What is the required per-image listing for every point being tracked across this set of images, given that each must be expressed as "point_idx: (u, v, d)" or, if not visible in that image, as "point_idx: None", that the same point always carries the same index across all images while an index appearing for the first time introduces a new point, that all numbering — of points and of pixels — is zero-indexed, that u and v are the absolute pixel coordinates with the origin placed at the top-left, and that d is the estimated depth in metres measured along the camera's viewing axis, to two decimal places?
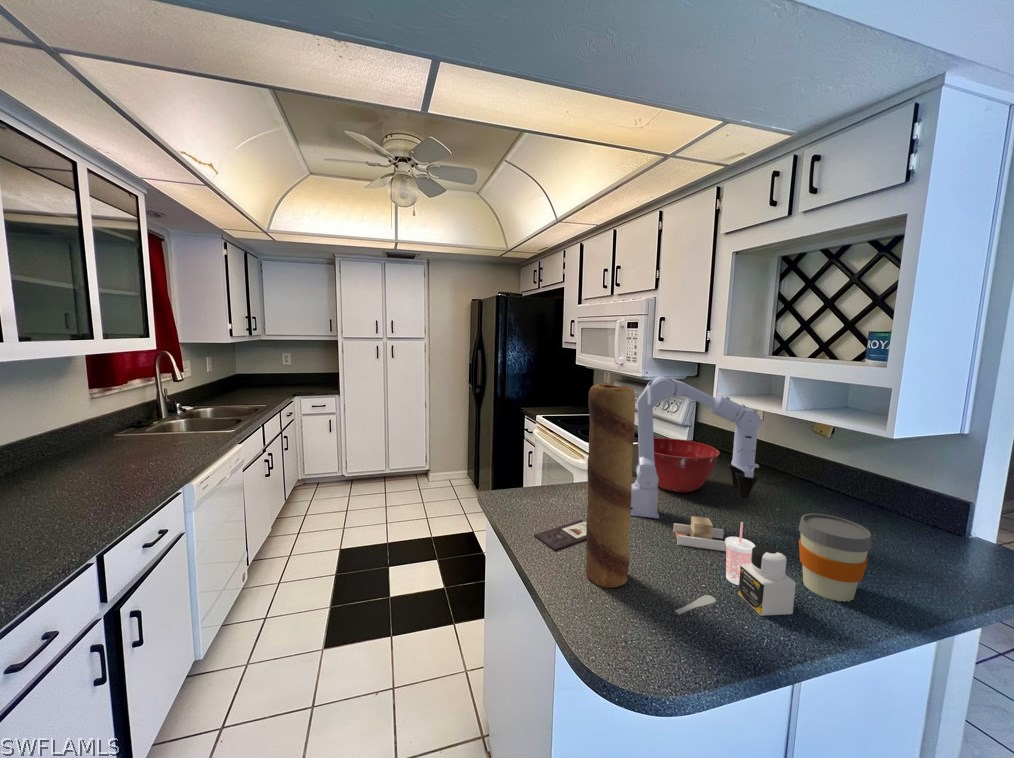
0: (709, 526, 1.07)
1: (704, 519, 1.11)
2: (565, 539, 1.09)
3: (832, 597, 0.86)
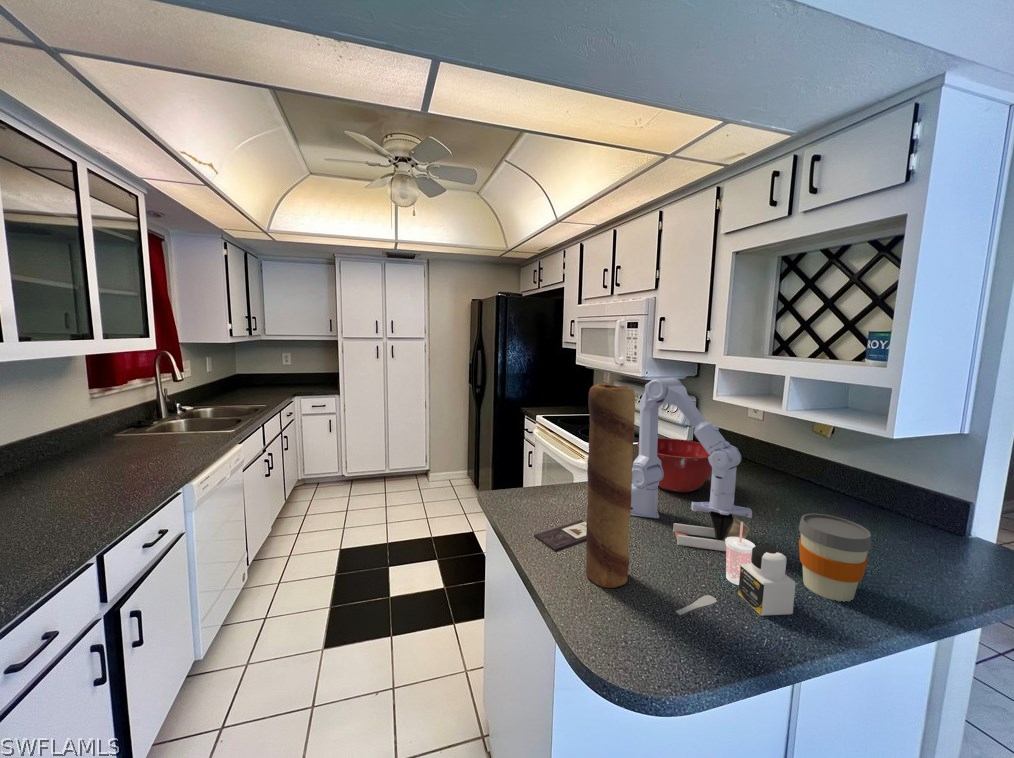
0: (746, 528, 1.06)
1: (738, 520, 1.10)
2: (565, 539, 1.09)
3: (832, 597, 0.86)
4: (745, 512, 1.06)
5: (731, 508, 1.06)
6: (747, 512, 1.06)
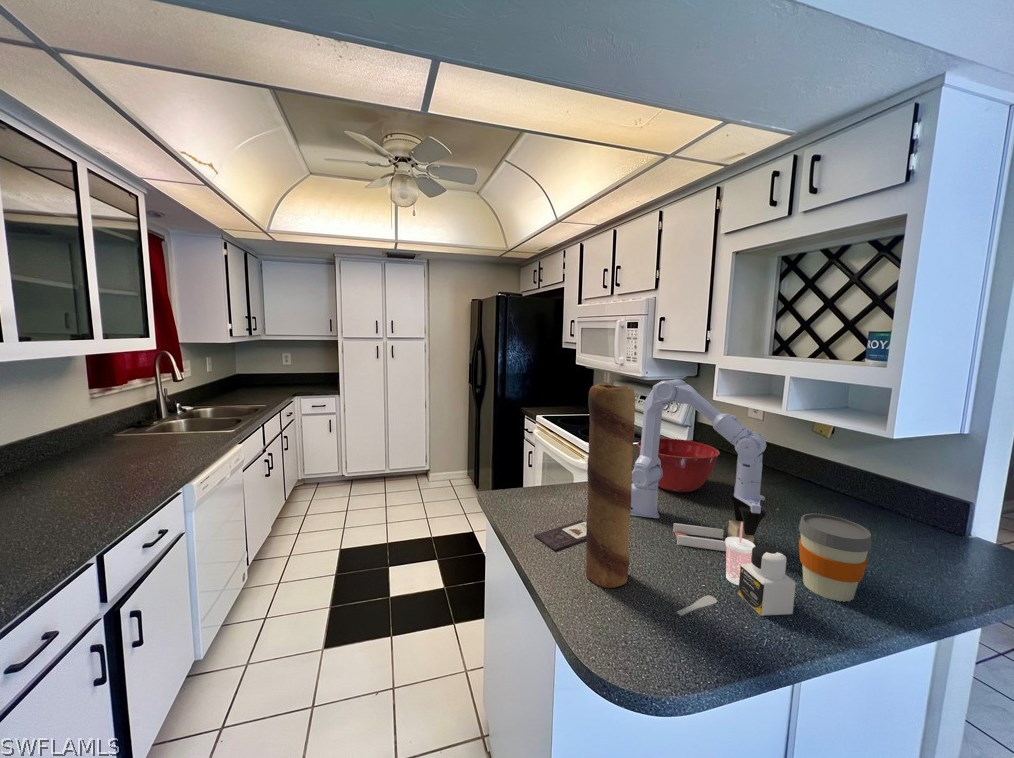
0: None
1: None
2: (565, 539, 1.09)
3: (832, 597, 0.86)
4: None
5: None
6: None
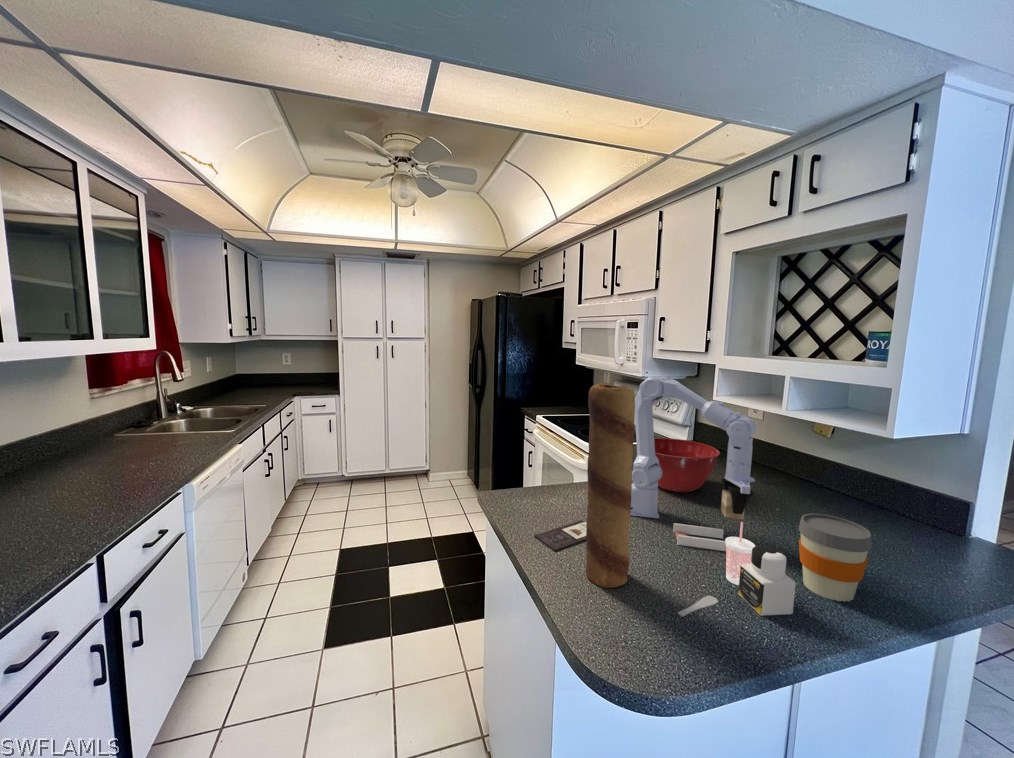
0: None
1: None
2: (565, 539, 1.09)
3: (832, 597, 0.86)
4: None
5: None
6: None
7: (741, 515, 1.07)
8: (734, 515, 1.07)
